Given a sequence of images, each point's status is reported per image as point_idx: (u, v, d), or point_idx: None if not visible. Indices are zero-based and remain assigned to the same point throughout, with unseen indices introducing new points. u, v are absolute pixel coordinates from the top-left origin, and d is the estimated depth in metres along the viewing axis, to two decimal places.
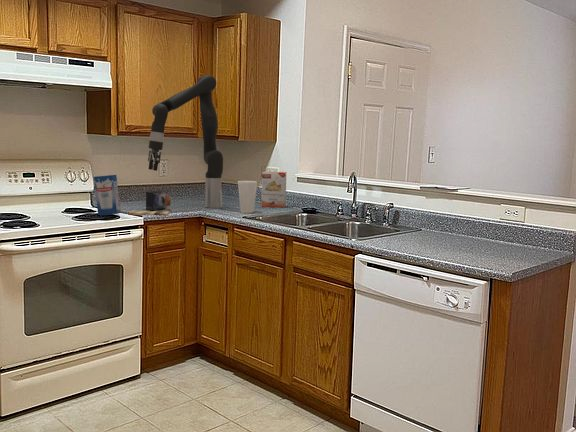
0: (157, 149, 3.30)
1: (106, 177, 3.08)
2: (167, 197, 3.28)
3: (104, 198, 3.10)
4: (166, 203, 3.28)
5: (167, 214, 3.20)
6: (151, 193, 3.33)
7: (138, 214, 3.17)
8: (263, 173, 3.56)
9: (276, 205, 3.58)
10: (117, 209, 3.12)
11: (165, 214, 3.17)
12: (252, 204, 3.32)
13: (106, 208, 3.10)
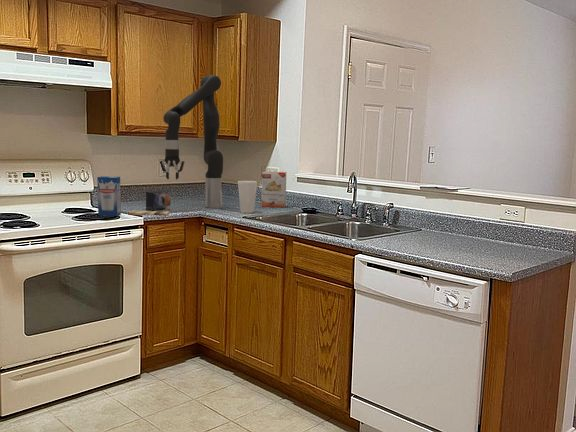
0: (178, 156, 3.35)
1: (110, 179, 3.08)
2: (167, 197, 3.28)
3: (106, 199, 3.09)
4: (166, 203, 3.28)
5: (167, 214, 3.20)
6: (151, 193, 3.33)
7: (138, 214, 3.17)
8: (263, 173, 3.56)
9: (276, 205, 3.58)
10: (118, 211, 3.12)
11: (165, 214, 3.17)
12: (252, 204, 3.32)
13: (106, 209, 3.10)
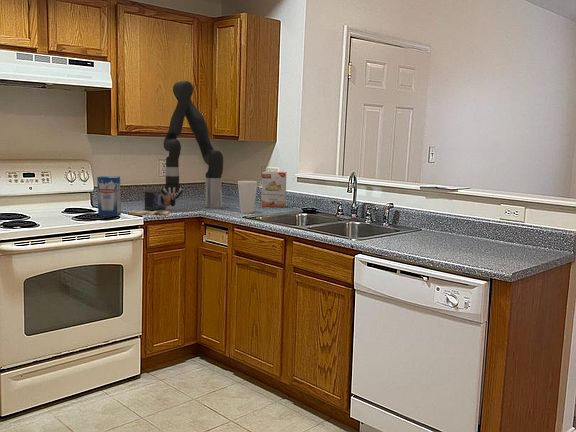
0: None
1: (110, 179, 3.08)
2: (167, 197, 3.28)
3: (106, 199, 3.09)
4: (166, 203, 3.28)
5: (167, 214, 3.20)
6: (150, 193, 3.33)
7: (138, 214, 3.17)
8: (263, 173, 3.56)
9: (276, 205, 3.58)
10: (118, 211, 3.12)
11: (165, 214, 3.17)
12: (252, 204, 3.32)
13: (106, 210, 3.10)
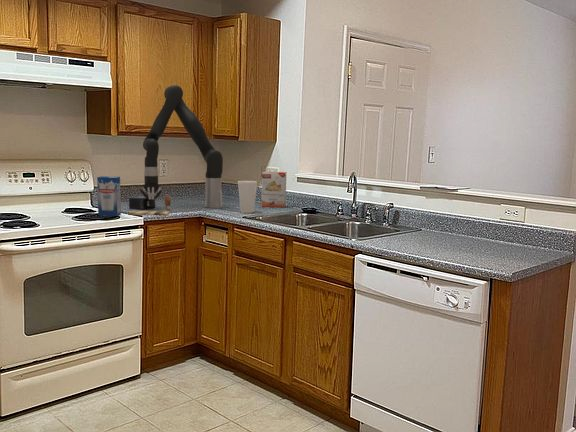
0: None
1: (110, 179, 3.08)
2: (167, 197, 3.28)
3: (106, 199, 3.09)
4: (166, 203, 3.28)
5: (167, 214, 3.20)
6: (129, 199, 3.40)
7: (138, 214, 3.17)
8: (263, 173, 3.56)
9: (276, 205, 3.58)
10: (118, 211, 3.12)
11: (165, 214, 3.17)
12: (252, 204, 3.32)
13: (106, 210, 3.10)
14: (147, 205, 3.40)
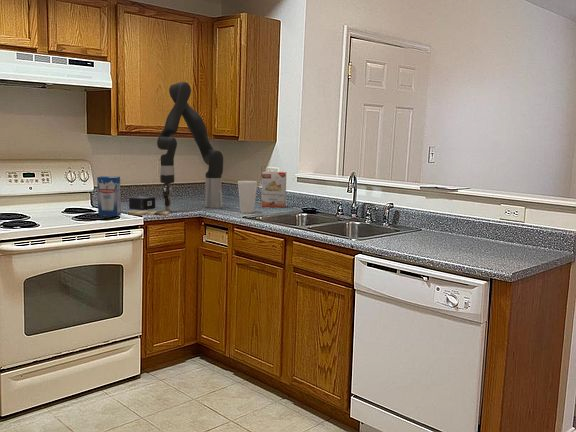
0: None
1: (110, 179, 3.08)
2: None
3: (106, 199, 3.09)
4: None
5: (167, 214, 3.20)
6: (129, 199, 3.40)
7: (138, 214, 3.17)
8: (263, 173, 3.56)
9: (276, 205, 3.58)
10: (118, 211, 3.12)
11: (165, 214, 3.17)
12: (252, 204, 3.32)
13: (106, 210, 3.10)
14: (147, 205, 3.40)
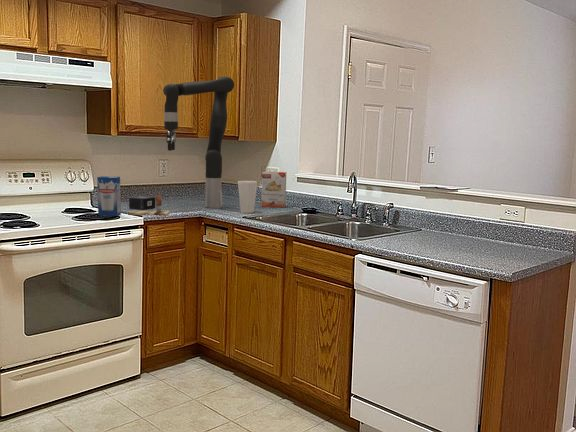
0: None
1: (110, 179, 3.08)
2: (158, 197, 3.19)
3: (106, 199, 3.09)
4: (157, 203, 3.20)
5: (167, 214, 3.20)
6: (129, 199, 3.40)
7: (138, 214, 3.17)
8: (263, 173, 3.56)
9: (276, 205, 3.58)
10: (118, 211, 3.12)
11: (165, 214, 3.17)
12: (252, 204, 3.32)
13: (106, 210, 3.10)
14: (147, 205, 3.40)
